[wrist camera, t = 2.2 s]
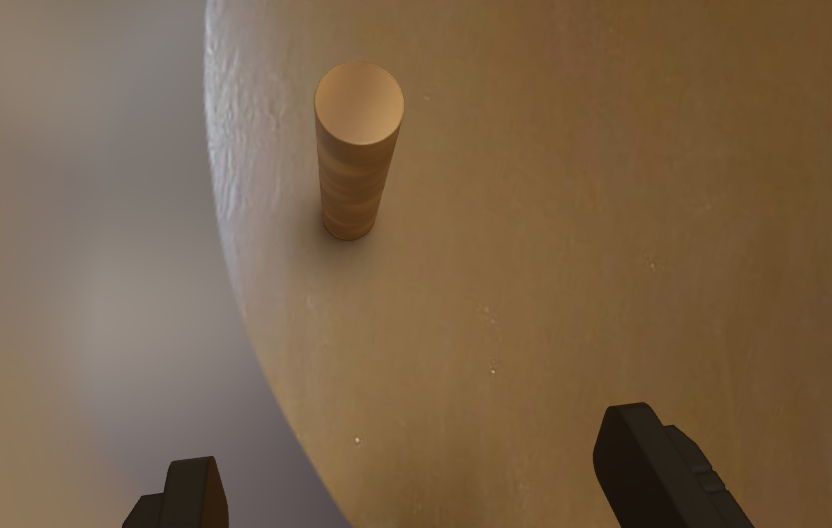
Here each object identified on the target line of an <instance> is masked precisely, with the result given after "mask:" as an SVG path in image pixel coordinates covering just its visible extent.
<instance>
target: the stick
mask: <svg viewBox="0 0 832 528" xmlns="http://www.w3.org/2000/svg"><path fill="white" fill-rule="evenodd" d="M314 112H315V125H316V139H317V152H318V165H319V179H320V192H321V205H322V217H323V222H324V224H325V226H326V228H327V229H328V230H329V231H330V232H331V233H332V234H333V235H334V236H336V237H338V238H341V239H345V240H354V239H358V238H361V237H362V236H364V235H366V234H367V233H368V232H369V231H370V230H371V228H372V227H373V224H374V222H375V218H376V214H377V211H378V207H379V203H380V200H381V196H382V192H383V189H384V185H385V181H386V177H387V174H388V170H389V166H390V163H391V159H392V155H393V152H394V148H395V144H396V140H397V137H398V133H399V129H400V126H401V122H402V118H403V115H404V97H403V94H402V91H401V89H400V87H399V85H398V83H397V82H396V80H395V79H394V78H393V77H392V76H391V75H390V74H389V73H388V72H387V71H385V70H384V69H382V68H380V67H378V66H376V65H374V64H371V63H367V62H358V61H356V62H347V63H344V64H340V65H338V66H336V67H334V68H333V69H331V70H330V71H328V72H327V73H326V74H325V75H324V76H323V77H322V79H321V80H320V82H319V83H318V85H317V88H316V91H315V95H314Z"/></svg>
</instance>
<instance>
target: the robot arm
mask: <svg viewBox="0 0 832 528" xmlns="http://www.w3.org/2000/svg"><path fill="white" fill-rule="evenodd" d="M593 464H594V469H595V473H596V476H597V479H598V481H599V483H600V485H601V487H602V489H603V491H604V493H605V496H606V498H607V500H608V502H609V504H610V506H611V508H612V510H613V512H614V514H615V516H616V518H617V520H618V522H619V524H620V526H621V528H754V526H753V525H752V523H751V522H750V520H749V519H748V518H747V516H746V515H745V513H744V512H743V510H742V509H741V507H740V506H739V505H738V503H737V502H736V500H735V499H734V497H733V496H732V494H731V493H730V492H729V490H726V488H725V484H724V483H723V481H722V480H721V479H720V477H719V476H718V474H717V473H716V471H713V470H712V466H711V464H710V463H709V461H708V460H707V458H706V457H705V455H704V454H703V453H702V451H701V450H700V448H699V447H698V445H697V444H696V443H695V442H694V441H693V440H691V439H690V438H689V437H688V436H686V435H685V434H684V433H683V432H682V431H680V430H679V429H678V428H677V427H676V426H674V425H669V426H663V425H662V423H661V422H660V420H659V419H658V417H657V415H656V414H655V412H654V411H653V410H652V408H651V407H650V406H649V405H648V404H646V403H644V402H640V403H632V404H624V405H617V406H610V407H608V408H607V410H606V412H605V415H604V418H603V421H602V424H601V428H600V431H599V434H598V437H597V441H596V444H595V447H594V451H593ZM122 528H229V516H228V505H227V500H226V496H225V493H224V489H223V486H222V482H221V479H220V475H219V472H218V468H217V464H216V461H215V458H214V457H213V456H209V457H201V458H193V459H185V460H178V461H172V462H171V464H170V466H169V469H168V472H167V478H166V482H165V487H164V492H163V493H159V494H151V495H144V496H141V498H140V499H139V500H138V502H137V503H136V505H135V507H134V508H133V510H132V511H131V512H130V514H129V515H128V517H127V518H126V520H125V521H124V523H123V525H122Z"/></svg>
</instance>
